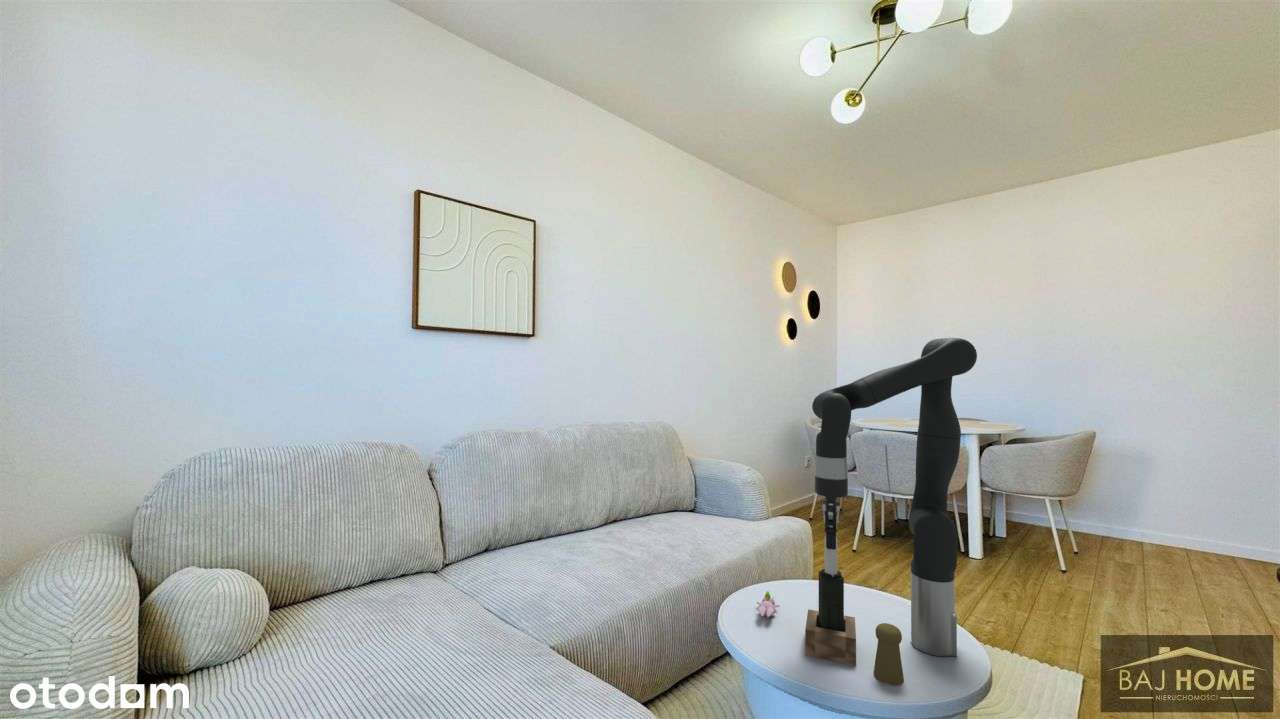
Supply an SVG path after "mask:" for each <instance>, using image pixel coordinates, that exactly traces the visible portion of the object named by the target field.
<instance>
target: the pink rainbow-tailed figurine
mask: <svg viewBox="0 0 1280 719" xmlns="http://www.w3.org/2000/svg"><path fill="white" fill-rule="evenodd" d="M756 604H757V605H758V606H757V610H758V612H759V614H760V615H761V616H762V617H764V616H765V617H767V618H770V616H773V615H775V614H777V611H778V610H777V608H779V607H780V604H776V602H775V598H774V596H773V597H772V598H771V594H770V592H769V590H767V591H766V592H765V595H764V597H763V598H762V601H761V602H759V601H756Z"/></svg>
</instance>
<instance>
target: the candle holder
mask: <svg viewBox="0 0 1280 719" xmlns="http://www.w3.org/2000/svg"><path fill="white" fill-rule="evenodd" d="M806 615H807V616H806V621H805V627H804V628H805V629H804V638H805V639H804V641H805V642H804V653H805V654H804V655H805V657H811V658H818V659H820V660H821V659H823V660H827V661H832V662H835V663H836V662H837V663H842V664H846V665H851V666H854V667H855V666H857V632H856V617H855V616H848V615H844V632H841V631H835V630H830V629H824V628H820V626H819V610H815V609H807V614H806Z"/></svg>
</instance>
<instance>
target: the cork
mask: <svg viewBox="0 0 1280 719" xmlns="http://www.w3.org/2000/svg"><path fill="white" fill-rule="evenodd" d="M875 637H876V639H877V646H876V653H875V662H874V668H873V676H874V678H875V679H876V680H877V681H879V682H880V683H883V684H886V685H888V686H894V687H895V686H896V687H897V686H898V687H899V686H902V685H904V682H905V678H904V670H903V664H902V658H901V657H902V656H901V651H900V644H901V642H902V640H903V636H902V632H901V630H900V628H899V627H897V626H896V625H894V624H891V623H887V622H885V623H883V622H881V623H879V624H877V626H876V627H875Z"/></svg>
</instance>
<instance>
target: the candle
mask: <svg viewBox="0 0 1280 719" xmlns="http://www.w3.org/2000/svg"><path fill="white" fill-rule="evenodd" d="M829 527H830V528H832V527H833V526H831V525H829ZM844 582H845V578H844V577H843V575H842V572H841V571H839V570H838V537H837V536H836V549H835V550H832V549H827V548H826V535H825V536H824V568H823V569H821V570H819V571H818V611H819V626H820V628H824V629H830V630H835V631H841V632H844V616H845V604H844V602H845V593H844V592H845V583H844Z"/></svg>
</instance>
